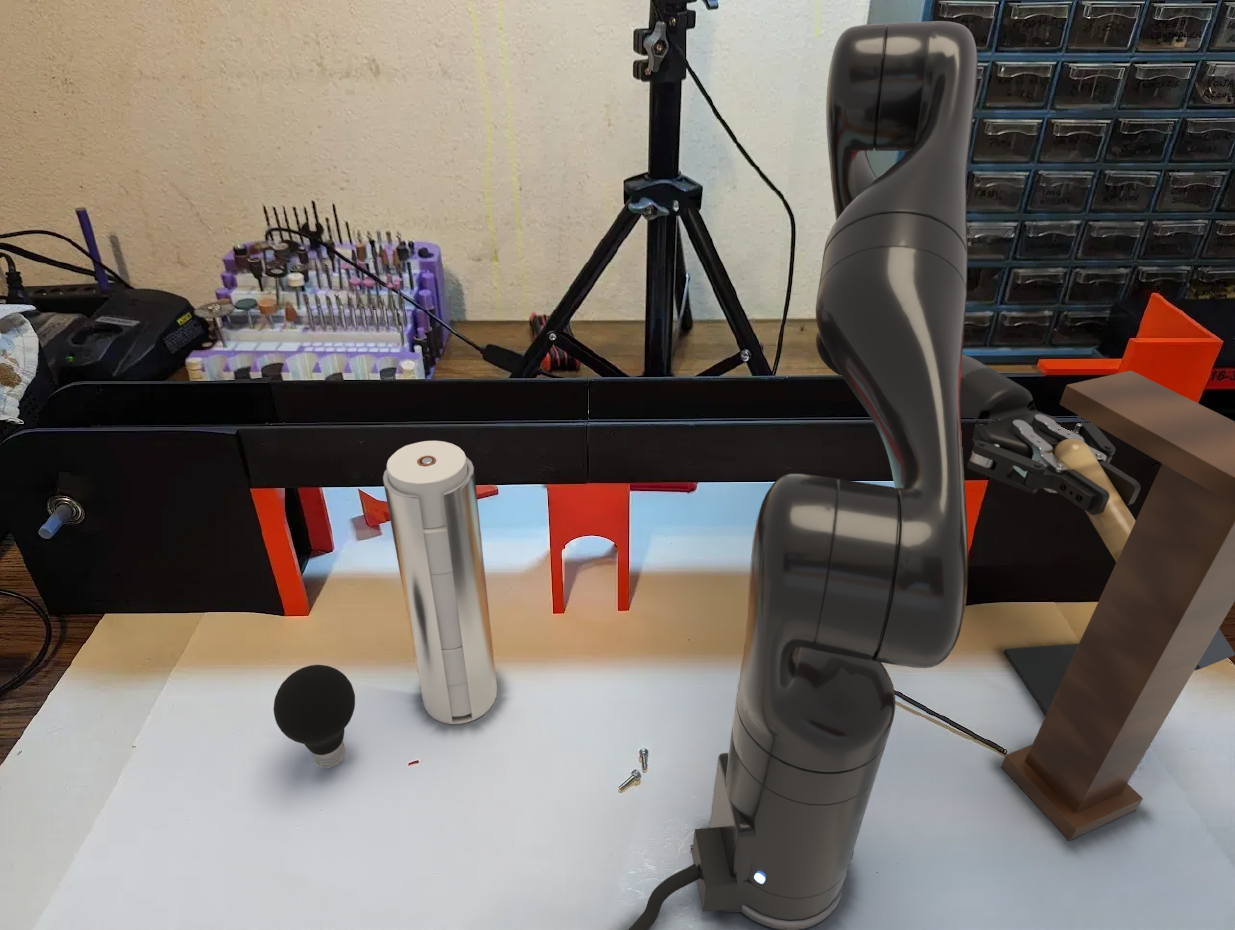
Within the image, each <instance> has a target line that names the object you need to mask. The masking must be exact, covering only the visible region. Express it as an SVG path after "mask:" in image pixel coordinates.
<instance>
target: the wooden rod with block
mask: <svg viewBox="0 0 1235 930" xmlns="http://www.w3.org/2000/svg"><path fill="white" fill-rule="evenodd" d="M1054 455H1055V456H1056V457H1058V458H1059V459H1060V460H1061V461H1063V462H1064V463H1065V464H1066V465H1067V466H1068V469H1067V471H1068V470H1072V469H1074V470H1076V471H1077V472H1079V473H1081V474H1082V475H1084V476H1085V477H1087V478H1088V479H1090V480H1091V481H1093V482H1094V483H1096V484H1097V485H1099V486H1100V487H1102V488H1103V489H1105V490H1106V491H1108V493H1109V496H1110V497H1109V500H1108V502H1107V505H1106V507H1105V509H1104V511H1103V512H1102V513H1100V514H1096V515H1091V514H1090V513H1088V512H1087V511H1085V510H1084V513H1086V515H1087V517H1088V519H1089V520H1090V522H1091V524H1092V525H1093V527H1094V528H1095V530H1096V532H1097V533H1098V535H1099V537H1100V539H1101V540H1102V542H1103V543H1104V546H1105V547H1106V548H1107V550H1108V552H1109V553H1110V555H1111V556H1112V558H1113V560H1114V561H1115V564H1116V563H1117V560H1118V558H1119V556H1120V554H1121V552H1122V550H1123V548H1124V545H1125V543H1126V541H1127V539H1128V537H1129V535H1130V532H1131V530H1132V528H1133V526H1134V524H1135V522H1136V519H1135V517H1134V516H1133V514H1132V513H1131V510H1129V508H1128V505H1127V506H1126V505H1125V503H1124V502H1123V500H1122V499H1121V497H1120V495H1119V494H1118V492H1117V491H1116V489H1115V487H1114V486H1113V484H1112V483H1111V481H1110V480H1109V478H1108V476H1107V475H1106V473H1105V472H1104V470H1103V469H1102V467H1101V465H1100V464H1099V462H1098V461H1097V459H1096V457H1095V456H1094V454H1093V453H1092V451H1091V450H1090V448H1089V447H1088V445H1087V444H1086V443H1085V442H1083V441H1081V440H1079V439H1074V438H1072V439H1066V440H1063V441H1061V442H1060V443H1059V444H1058V445H1057V446H1056V447H1055V449H1054ZM1234 656H1235V651H1234V650H1233V647H1232V646H1231V645H1230V643H1229V642H1228V640H1227V639H1226V637H1225V635H1224V634H1223V632H1222V630H1221V629H1220V628H1219V629H1218V631H1217V632H1216V634H1215V636H1214V637H1213V639H1212V641H1211V642H1210V644H1209V646H1208V648H1207V649H1206V651H1205V653H1204V654H1203V656H1202V658H1201V659H1200V661H1199V663H1198V665H1197V666H1196V668H1195V670H1194V671H1193V672H1195V671H1199V670H1202V669H1204V668H1207V667H1209V666H1211V665H1215V664H1216V663H1219V662H1222V661H1224V660H1226V659H1229V658H1231V657H1234Z"/></svg>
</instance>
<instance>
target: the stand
mask: <svg viewBox="0 0 1235 930" xmlns="http://www.w3.org/2000/svg"><path fill="white" fill-rule="evenodd" d="M1059 405H1060V406H1062V407H1063V408H1065V409H1067V410H1069V411H1070V412H1072V413H1074V414H1076V415H1077V416H1081V417H1082V418H1084V419H1086V420H1088V421H1089V422H1091V423H1093V424H1095V425H1096V426H1097V427H1098V428H1099V429H1101V430H1103V431H1105V432H1106V433H1109V434H1110V435H1112V436H1113V437H1116V438H1117V439H1119V440H1120V441H1122V442H1124V443H1126V444H1127V445H1129V446H1131V447H1133V448H1135V449H1136V450H1138V451H1140V452H1142V453H1143V454H1145V455H1147V456H1148V457H1150V458H1152V459H1153V460H1155V461H1157V462H1158V463H1161V466H1160V467H1159V469H1158V471H1157V474H1156V476H1155V479H1154V480H1153V483H1152V485H1151V487H1150V489H1149V491H1148V494H1147V496H1146V498H1145V500H1144V501H1143V504H1142V506H1141V509H1140V510H1139V513H1138V515H1137V517H1136V519H1135V521H1136V522H1135V524H1134V526H1133V528H1132V530H1131V532H1130V535H1129V537H1128V539H1127V541H1126V543H1125V545H1124V548H1123V550H1122V552H1121V554H1120V556H1119V558H1118V560H1117V563H1116V562H1115V565H1114V567H1113V570H1112V572H1111V573H1110V576H1109V578H1108V580H1107V582H1106V584H1105V587H1104V589H1103V591H1102V592H1101V596H1100V597H1099V599H1098V602H1097V603H1096V606H1095V608H1094V611H1093V613H1092V614H1091V617H1090V619H1089V621H1088V623H1087V626H1086V628H1085V629H1084V632H1083V634H1082V636H1081V639H1080V641H1079V643H1078V644H1079V645H1078V647H1077V649H1076V651H1075V654H1074V656H1073V658H1072V660H1071V662H1070V664H1069V666H1068V669H1067V671H1066V673H1065V675H1064V677H1063V679H1062V682H1061V684H1060V686H1059V688H1058V690H1057V692H1056V695H1055V697H1054V699H1053V701H1052V703H1051V705H1050V708H1049V710H1048V712H1047V714H1046V715H1045V716H1044V718H1043V721H1042V723H1041V725H1040V727H1039V730H1038V732H1037V733H1036V736H1035V738H1034V740H1033V742H1032V744H1030V745H1027V746H1025V747H1022V748H1020V749H1017V750H1014V751H1013V752H1009V753H1008V754H1005V756H1004V758H1003V761H1002V763H1001V765H1000V767H1001V768H1002V769H1003V770H1004V772H1005V773H1006V774H1007V775H1008V776H1009V777H1010V778H1011V779H1012V780H1013V781H1014V782H1015V784H1016V785H1017V786H1018V787H1019V788H1020V789H1021V790H1022V791H1023V792H1024V793H1025V794H1026V796H1028V798H1029V799H1030V800H1031V801H1032V802H1033V803H1034V804H1035V805H1036V806H1037V807H1038V809H1040V810H1041V812H1042V813H1043V814H1044V815H1045V816H1046V817H1047V818H1048V819H1049V821H1051V823H1052V824H1053V825H1054V826H1055V827H1056V828H1057V829H1058V830H1059V831H1060V833H1062V834H1063V836H1064V837H1065V838H1066V839H1067V840H1068V841H1072V840H1075V839H1076V838H1078V837H1081V836H1083V835H1085V834H1088V833H1090V832H1092V831H1093V830H1095V829H1098V828H1100V827H1102V826H1104V825H1106V824H1109V823H1112V822H1113V821H1115V820H1117V819H1119V818H1121V817H1124V816H1127V815H1128V814H1130V813H1132V812H1135V811H1136V810H1138V808H1139V806H1140V805H1141V803H1142V801H1143V799H1144V797H1142V796H1141V794H1139V793H1138V792H1137V791H1136V790H1135V789H1134V788H1133V787H1132V786H1131V785H1130V784H1128V783H1129V782H1130V780H1131V779H1132V777H1133V775H1134V773H1135V772H1136V770H1137V768H1138V767H1139V765H1140V763H1141V761H1142V760H1143V758H1144V757H1145V755H1146V753H1147V751H1148V749H1149V748H1150V746H1151V744H1152V743H1153V741H1154V740H1155V738H1156V737H1157V734H1158V733H1159V731H1160V729H1161V728H1162V725H1163V724H1164V723H1165V721H1166V720H1167V718H1168V716H1169V714H1170V713H1171V710H1172V709H1173V707H1174V705H1175V703H1176V702H1177V700H1178V699H1179V697H1180V695H1181V694H1182V692H1183V690H1184V688H1185V687H1186V685H1187V684H1188V681H1189V680H1190V678H1191V677H1192V675H1193V673H1194V672H1195V671H1196V670H1195V668H1196V666H1197V665H1198V663H1199V661H1200V659H1201V658H1202V656H1203V654H1204V653H1205V651H1206V649H1207V648H1208V646H1209V644H1210V642H1211V641H1212V639H1213V637H1214V636H1215V634H1216V632H1217V631H1218V629H1220V627H1221V625H1222V624H1223V622H1224V621H1225V619H1226V617H1227V615H1228V614H1229V612H1230V610H1231V608H1232V607H1233V605H1234V603H1235V421H1234V420H1233V419H1230V418H1228V417H1226V416H1224V415H1222V414H1221V413H1219V412H1216V411H1215V410H1213V409H1211V408H1208V407H1206V406H1204V405H1202V404H1200V403H1198V402H1196V401H1194V400H1192V399H1190V398H1188V397H1186V396H1183V395H1182V394H1179V393H1177V392H1176V391H1174V390H1172V389H1170V388H1167V387H1165V386H1164V385H1162V384H1160V383H1158V382H1156V381H1153V380H1151V379H1149V378H1147V377H1145V376H1143V375H1141V374H1139V373H1137V372H1135V371H1133V370H1127V371H1122V372H1118V373H1113V374H1110V375H1104V376H1101V377H1096V378H1091V379H1087V380H1083V381H1078V382H1074V383H1069V384H1066V385H1065V387H1064V390H1063V392H1062V396H1061V399H1060V401H1059ZM1194 670H1195V671H1194Z"/></svg>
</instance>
